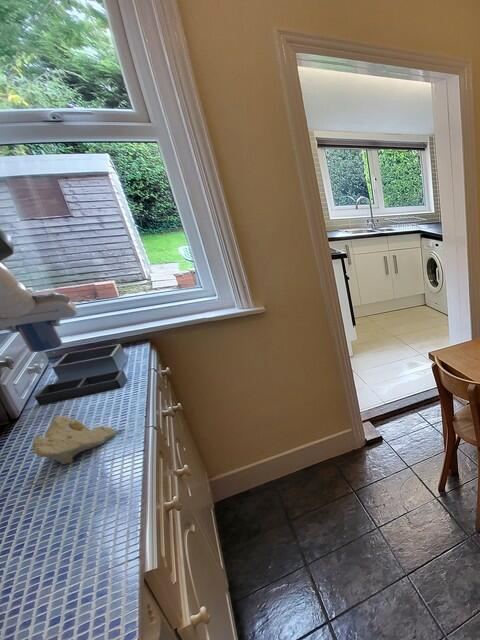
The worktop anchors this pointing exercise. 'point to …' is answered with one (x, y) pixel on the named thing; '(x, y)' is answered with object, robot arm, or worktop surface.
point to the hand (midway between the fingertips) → (36, 327)
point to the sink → (90, 362)
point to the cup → (39, 336)
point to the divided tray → (81, 387)
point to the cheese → (69, 439)
